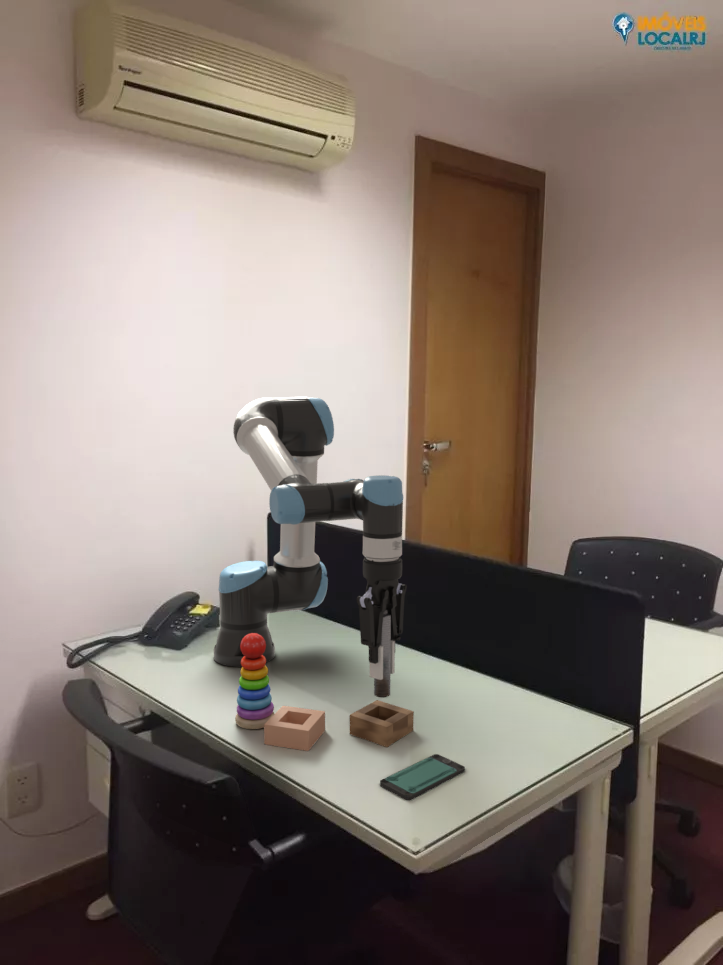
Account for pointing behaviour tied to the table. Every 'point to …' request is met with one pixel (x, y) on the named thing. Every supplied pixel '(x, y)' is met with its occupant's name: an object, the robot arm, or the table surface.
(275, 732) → the pink square socket block
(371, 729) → the brown wooden square holder
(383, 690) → the grey capped cylinder
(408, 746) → the table surface
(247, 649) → the stacking toy
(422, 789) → the smartphone
